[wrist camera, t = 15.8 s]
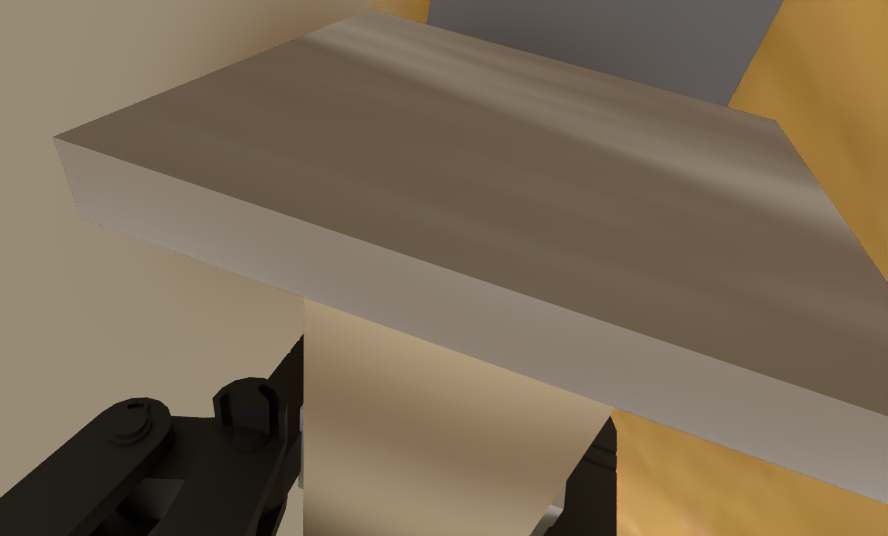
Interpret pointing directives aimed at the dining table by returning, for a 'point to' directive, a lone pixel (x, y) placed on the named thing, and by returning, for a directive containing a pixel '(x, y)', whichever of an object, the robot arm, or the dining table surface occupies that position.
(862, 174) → the dining table surface
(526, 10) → the mat
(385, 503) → the push tool
